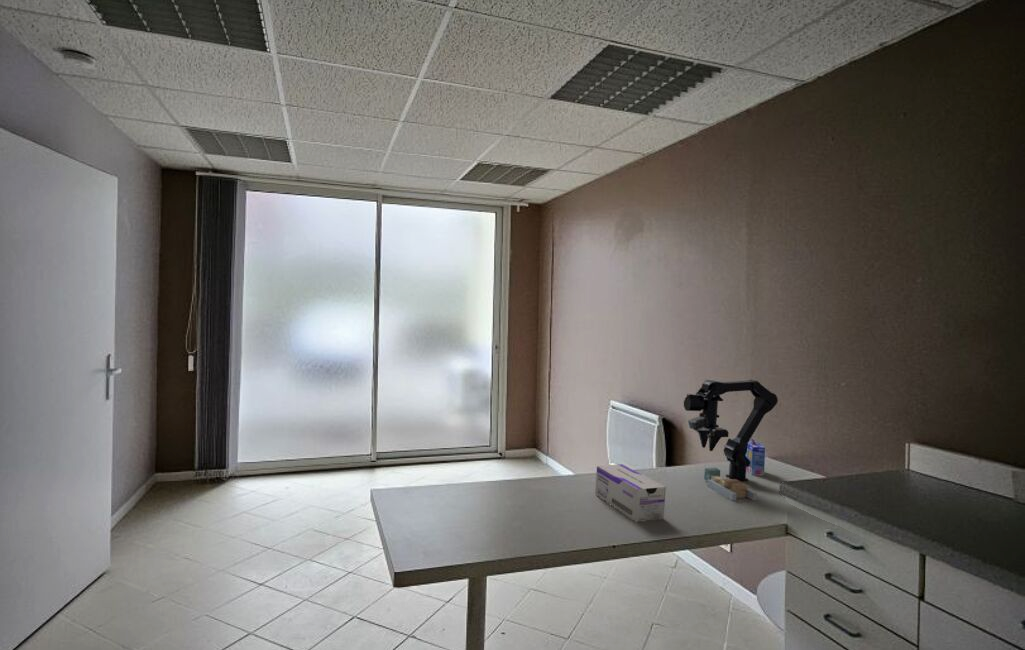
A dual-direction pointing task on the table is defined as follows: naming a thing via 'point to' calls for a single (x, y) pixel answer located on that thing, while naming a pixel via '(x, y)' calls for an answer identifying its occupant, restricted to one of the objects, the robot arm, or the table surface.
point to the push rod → (713, 475)
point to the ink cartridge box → (755, 458)
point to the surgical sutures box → (630, 492)
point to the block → (736, 487)
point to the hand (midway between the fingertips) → (707, 449)
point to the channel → (728, 492)
